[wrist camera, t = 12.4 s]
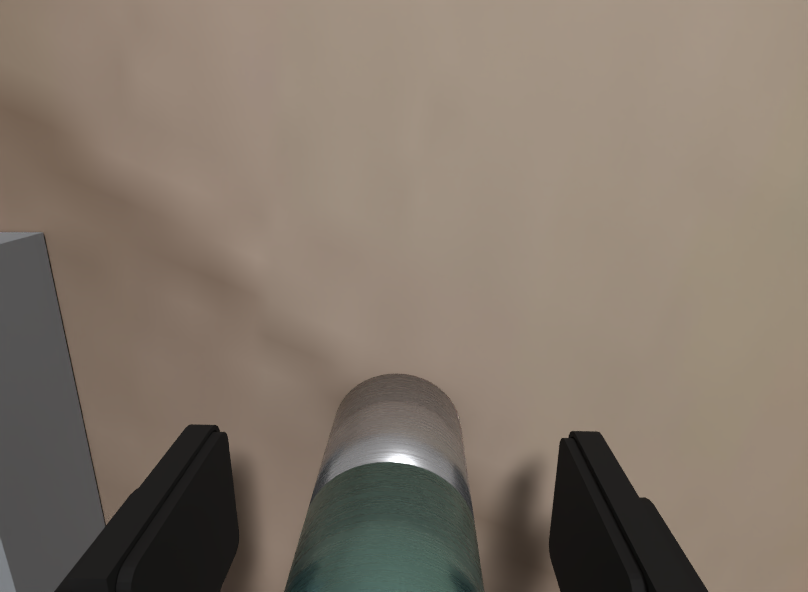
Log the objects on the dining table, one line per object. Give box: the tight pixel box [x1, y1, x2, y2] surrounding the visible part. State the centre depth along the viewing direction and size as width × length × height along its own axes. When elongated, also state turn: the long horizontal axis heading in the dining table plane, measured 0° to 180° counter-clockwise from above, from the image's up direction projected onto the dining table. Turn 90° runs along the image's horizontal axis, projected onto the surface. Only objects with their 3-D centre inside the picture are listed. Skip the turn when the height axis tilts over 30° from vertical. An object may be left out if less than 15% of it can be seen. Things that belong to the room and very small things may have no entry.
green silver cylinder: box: [284, 374, 484, 592], centre depth 9 cm, size 3×3×8 cm
